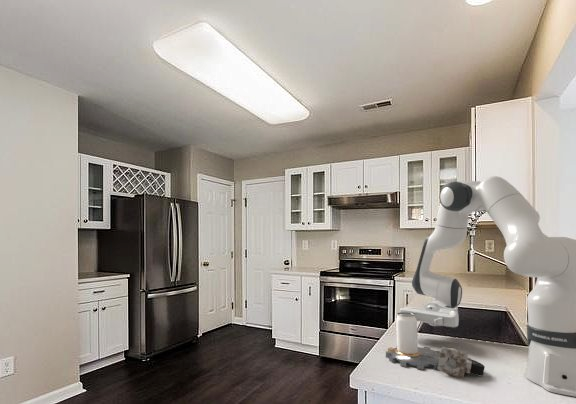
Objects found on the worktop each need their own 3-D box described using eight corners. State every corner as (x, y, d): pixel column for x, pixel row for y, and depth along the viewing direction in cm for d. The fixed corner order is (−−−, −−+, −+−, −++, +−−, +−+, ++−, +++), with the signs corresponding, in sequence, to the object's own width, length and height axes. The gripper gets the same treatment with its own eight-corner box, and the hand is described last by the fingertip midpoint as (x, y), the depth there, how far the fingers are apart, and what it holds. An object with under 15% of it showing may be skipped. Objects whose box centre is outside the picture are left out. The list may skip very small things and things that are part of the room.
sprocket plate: (457, 357, 112) (457, 353, 112) (435, 375, 98) (435, 370, 98) (401, 345, 125) (401, 340, 125) (375, 358, 111) (374, 354, 111)
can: (405, 347, 118) (404, 311, 119) (422, 352, 113) (420, 314, 114) (393, 350, 115) (391, 313, 116) (409, 356, 109) (408, 317, 110)
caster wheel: (481, 379, 101) (481, 387, 93) (440, 364, 107) (437, 370, 99) (485, 356, 102) (486, 362, 94) (444, 342, 108) (441, 346, 99)
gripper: (407, 301, 140) (392, 306, 130) (462, 309, 126) (449, 315, 116) (408, 317, 139) (392, 324, 129) (463, 326, 125) (449, 335, 115)
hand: (419, 320), depth 122 cm, fingers open, 8 cm apart
